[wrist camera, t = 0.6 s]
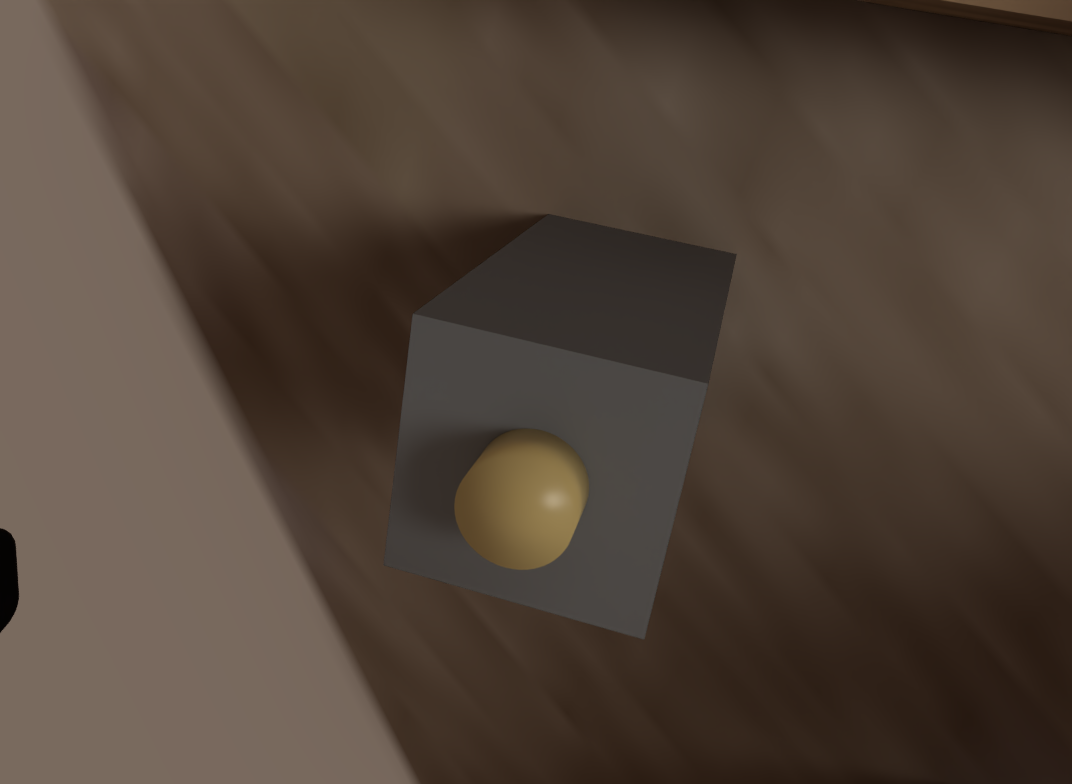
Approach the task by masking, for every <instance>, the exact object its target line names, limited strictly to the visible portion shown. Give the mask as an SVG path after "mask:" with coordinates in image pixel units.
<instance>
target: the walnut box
mask: <svg viewBox="0 0 1072 784" xmlns="http://www.w3.org/2000/svg"><path fill="white" fill-rule="evenodd" d="M857 1H863V2H869V3H875V4H881V5H887V6H893V7H899V8H905V9H911V10H917V11H923V12H929V13H935V14H941V15H947V16H953V17H960V18H966V19H972V20H978V21H984V22H990V23H996V24H1002V25H1008V26H1014V27H1020V28H1026V29H1032V30H1038V31H1044V32H1050V33H1056V34H1062V35H1068V36H1072V0H857Z"/></svg>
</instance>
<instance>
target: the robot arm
mask: <svg viewBox="0 0 1072 784" xmlns="http://www.w3.org/2000/svg"><path fill="white" fill-rule="evenodd" d="M18 600H19V588H18V572H17V557H16V544H15V540H14V538H13V537H12V535H11V533H9V532H8V531H6V530H4V529H1V528H0V632H1V631H2V630H3V629H4V627H6V625H7V624H8V623H9V622H10V620H11V618H12V617H13V615H14V613H15V611H16V608H17V605H18Z"/></svg>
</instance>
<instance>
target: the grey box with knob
mask: <svg viewBox="0 0 1072 784" xmlns="http://www.w3.org/2000/svg"><path fill="white" fill-rule="evenodd" d="M736 255H737V254H733V253H728V252H723V251H719V250H714V249H709V248H705V247H700V246H695V245H691V244H686V243H681V242H677V241H672V240H667V239H663V238H658V237H653V236H648V235H644V234H639V233H634V232H630V231H625V230H620V229H616V228H611V227H606V226H602V225H597V224H592V223H588V222H583V221H578V220H573V219H569V218H564V217H559V216H555V215H550V214H548V215H547V216H545V217H544V218H543V219H541V220H540V221H538V222H537V223H536V224H534V225H533V226H532V227H530V228H529V229H528V230H526V231H525V232H523V233H522V234H521V235H519V236H518V237H517V238H515V239H514V240H513V241H511V242H510V243H508V244H507V245H506V246H504V247H503V248H502V249H500V250H499V251H498V252H496V253H495V254H493V255H492V256H491V257H489V258H488V259H487V260H485V261H484V262H483V263H481V264H480V265H478V266H477V267H476V268H474V269H473V270H472V271H470V272H469V273H468V274H466V275H465V276H463V277H462V278H461V279H459V280H458V281H457V282H455V283H454V284H453V285H451V286H450V287H448V288H447V289H446V290H444V291H443V292H442V293H440V294H439V295H438V296H436V297H435V298H433V299H432V300H431V301H429V302H428V303H427V304H425V305H424V306H423V307H421V308H420V309H418V310H417V311H416V312H414V313H413V316H412V325H411V333H410V342H409V351H408V359H407V368H406V376H405V385H404V394H403V402H402V411H401V419H400V428H399V437H398V445H397V454H396V463H395V471H394V480H393V488H392V497H391V506H390V514H389V523H388V531H387V540H386V549H385V557H384V565H385V566H388V567H392V568H395V569H399V570H402V571H406V572H409V573H413V574H416V575H420V576H423V577H427V578H430V579H434V580H437V581H441V582H444V583H448V584H451V585H455V586H458V587H462V588H465V589H469V590H472V591H476V592H479V593H483V594H486V595H490V596H493V597H497V598H500V599H504V600H507V601H511V602H514V603H518V604H521V605H525V606H528V607H532V608H535V609H539V610H542V611H546V612H549V613H553V614H556V615H560V616H563V617H567V618H570V619H574V620H577V621H581V622H584V623H588V624H591V625H595V626H598V627H602V628H605V629H609V630H612V631H616V632H619V633H623V634H626V635H630V636H633V637H637V638H640V639H644V638H645V634H646V630H647V626H648V622H649V618H650V614H651V610H652V607H653V603H654V599H655V595H656V591H657V587H658V583H659V579H660V575H661V571H662V567H663V563H664V559H665V555H666V551H667V547H668V543H669V539H670V535H671V531H672V527H673V523H674V519H675V515H676V511H677V507H678V503H679V499H680V495H681V491H682V487H683V483H684V479H685V475H686V471H687V467H688V463H689V459H690V455H691V451H692V447H693V443H694V439H695V435H696V431H697V427H698V423H699V419H700V415H701V411H702V407H703V403H704V399H705V395H706V391H707V387H708V383H709V378H710V374H711V369H712V364H713V360H714V355H715V351H716V346H717V342H718V337H719V332H720V328H721V323H722V319H723V314H724V310H725V305H726V300H727V296H728V291H729V287H730V282H731V278H732V273H733V268H734V264H735V259H736Z"/></svg>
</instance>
